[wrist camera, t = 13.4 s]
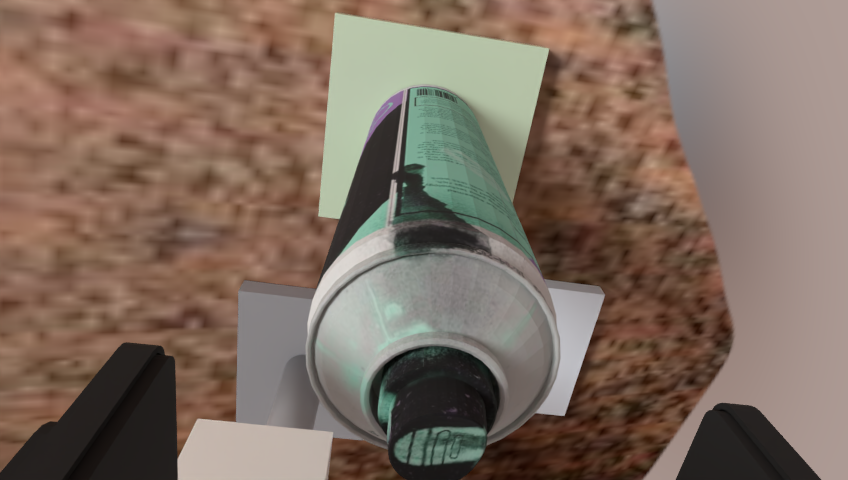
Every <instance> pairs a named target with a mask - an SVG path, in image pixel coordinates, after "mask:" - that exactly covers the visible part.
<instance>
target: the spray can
mask: <svg viewBox="0 0 848 480" xmlns="http://www.w3.org/2000/svg"><path fill="white" fill-rule="evenodd" d="M307 326H308V336H307V341H306V368H307V371H308V375H309V378H310V382H311V386H312V388H313V389H314V391H315V393H316V395H317V397H318V399H319V400H320V402H321V404H322V405H323V406H324V407H325V409H326V410H327V411H328V412H329V413H330V415H331V416H332V417H333V418H334V419H335V420H336V421H337V422H338V423H340V424H341V425H342V426H343V427H345V428H346V429H347V430H348V431H350V432H351V433H353V434H354V435H356V436H358V437H360V438H362V439H364V440H365V441H367V442H369V443H371V444H374V445H377V446H380V447H382V448H385V449H388V455H389V460H390V463H391V465H392V466H393V468H394V469H395V471H396V472H397V473H398V474H399V475H400V476H402V477H403V478H405V479H407V480H460V479H461V478H463V477H464V476H465V475H467V474H468V473H469V472H470V471H471V470H472V469H473V468H474V467H475V465H476V464H477V463H478V462H479V460H480V458H481V457H482V455H483V453H484V451H485V448H486V445H489V444H491V443H493V442H496V441H498V440H500V439H502V438H504V437H505V436H507V435H508V434H510V433H512V432H513V431H515V430H516V429H518V428H520V427H521V426H522V425H523V424H524V423H525V422H526V421H527V420H528V419H529V418H531V417H532V416H533V415H534V414H535V413H536V412H537V410H538V409H539V408H540V406H541V405H542V404H543V402H544V401H545V400H546V398H547V397H548V395H549V393H550V391H551V389H552V386H553V384H554V382H555V380H556V377H557V373H558V368H559V363H560V359H561V357H560V336H559V333H558V329H557V322H556V312H555V309H554V305H553V302H552V298H551V295H550V292H549V290H548V287H547V285H546V283H545V280H544V278H543V276H542V273H541V271H540V268H539V266H538V264H537V261H536V259H535V256H534V254H533V252H532V249H531V247H530V245H529V242H528V240H527V237H526V235H525V233H524V230H523V228H522V226H521V223H520V221H519V218H518V216H517V214H516V211H515V209H514V207H513V204H512V202H511V199H510V197H509V195H508V192H507V190H506V188H505V185H504V183H503V180H502V178H501V176H500V173H499V171H498V168H497V166H496V164H495V161H494V159H493V157H492V154H491V152H490V149H489V147H488V145H487V142H486V140H485V138H484V135H483V133H482V130H481V128H480V126H479V123H478V121H477V119H476V117H475V115H474V113H473V111H472V109H471V108H470V107H469V106H468V105H467V103H466V102H465V101H464V100H463V99H462V98H461V97H459V96H458V95H457V94H456V93H454V92H452V91H450V90H448V89H446V88H444V87H440V86H437V85H430V84H420V85H412V86H409V87H406V88H403V89H401V90H399V91H398V92H396V93H394V94H393V95H391V96H390V97H389V98H388V99H387V100H386V101H385V102H384V103H383V104H382V105H381V107H380V108H379V110H378V111H377V112H376V114H375V117H374V119H373V121H372V123H371V126H370V129H369V132H368V135H367V138H366V141H365V144H364V147H363V150H362V153H361V156H360V159H359V162H358V165H357V168H356V171H355V174H354V177H353V180H352V183H351V186H350V189H349V192H348V195H347V198H346V201H345V204H344V207H343V210H342V213H341V216H340V219H339V222H338V225H337V228H336V231H335V234H334V237H333V240H332V243H331V246H330V249H329V252H328V255H327V258H326V261H325V264H324V267H323V270H322V273H321V276H320V279H319V282H318V285H317V288H316V291H315V294H314V297H313V300H312V304H311V309H310V313H309V318H308V323H307Z"/></svg>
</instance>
